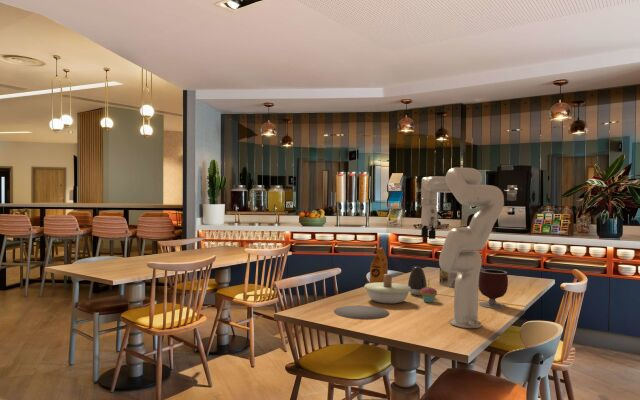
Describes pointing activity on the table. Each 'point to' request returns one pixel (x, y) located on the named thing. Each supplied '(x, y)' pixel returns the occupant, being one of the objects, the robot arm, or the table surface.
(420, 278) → the smart speaker
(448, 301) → the table surface
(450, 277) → the coffee box
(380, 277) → the coffee package
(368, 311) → the mat
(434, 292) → the cupcake
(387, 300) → the serving bowl
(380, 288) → the lid
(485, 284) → the mate gourd
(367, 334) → the table surface
